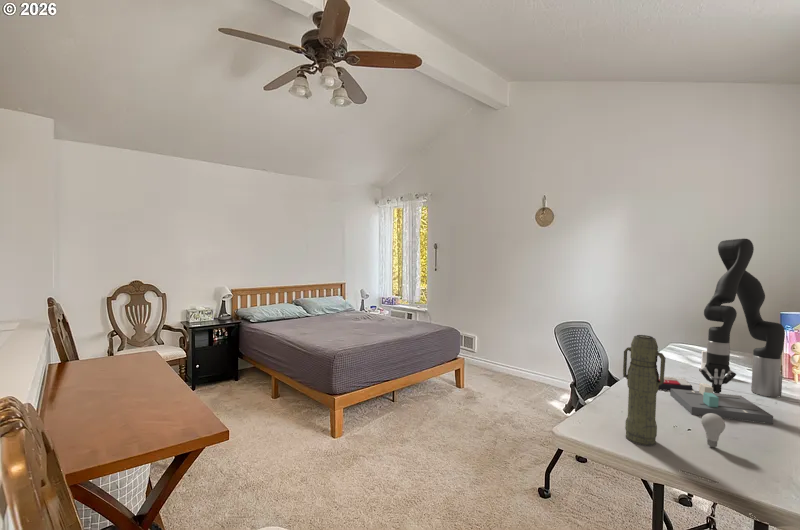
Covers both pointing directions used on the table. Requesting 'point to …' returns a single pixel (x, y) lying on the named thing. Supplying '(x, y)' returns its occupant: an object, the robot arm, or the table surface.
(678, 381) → the calculator
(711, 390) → the block
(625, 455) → the table surface
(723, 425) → the lightbulb
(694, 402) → the console
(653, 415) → the thermos
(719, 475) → the table surface
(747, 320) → the robot arm
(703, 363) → the white cylinder
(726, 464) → the table surface
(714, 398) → the fader teal
